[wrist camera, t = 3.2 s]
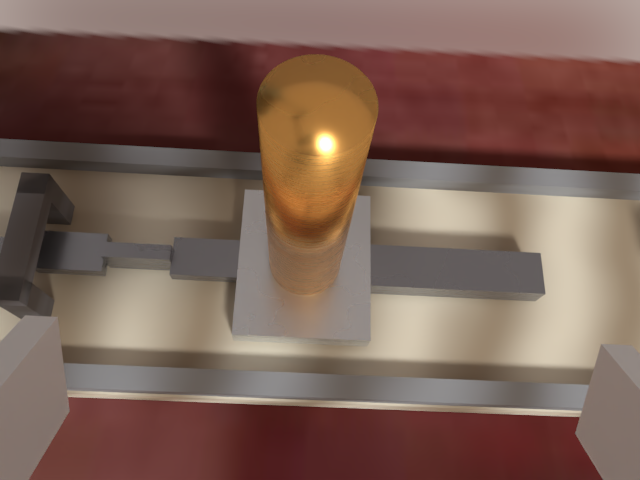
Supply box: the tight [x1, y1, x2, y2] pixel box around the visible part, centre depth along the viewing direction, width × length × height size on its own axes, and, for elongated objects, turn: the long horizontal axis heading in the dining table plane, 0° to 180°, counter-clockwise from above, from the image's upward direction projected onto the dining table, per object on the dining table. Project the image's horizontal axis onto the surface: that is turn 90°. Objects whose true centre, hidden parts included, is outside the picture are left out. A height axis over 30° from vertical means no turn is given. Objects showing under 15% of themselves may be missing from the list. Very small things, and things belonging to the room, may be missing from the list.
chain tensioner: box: [0, 54, 546, 346], centre depth 21 cm, size 32×7×13 cm, turn 88°
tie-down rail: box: [0, 139, 640, 417], centre depth 27 cm, size 49×12×5 cm, turn 88°
